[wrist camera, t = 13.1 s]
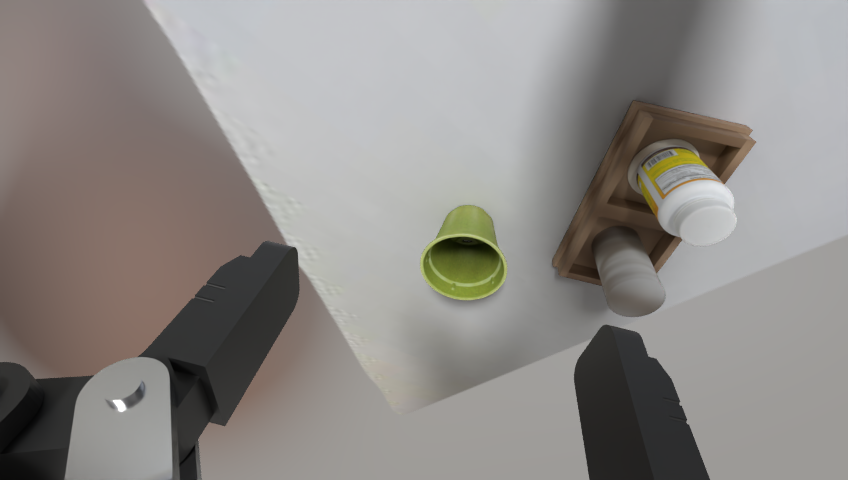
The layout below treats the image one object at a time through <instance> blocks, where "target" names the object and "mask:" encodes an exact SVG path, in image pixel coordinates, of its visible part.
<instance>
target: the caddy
mask: <svg viewBox="0 0 848 480" xmlns="http://www.w3.org/2000/svg"><path fill="white" fill-rule="evenodd" d="M752 131H753V130H752V129H750V128H749V127H747V126H746V125H741V124H737V123H733V122H728V121H724V120H719V119H715V118H710V117H706V116H701V115H697V114H693V113H688V112H684V111H679V110H675V109H670V108H666V107H661V106H657V105H653V104H648V103H644V102H639V101H635V100H633V102H632V104H631V106H630V108H629V110H628V112H627V114H626V116H625V117H624V119H623V121H622V123H621V125H620V127H619V129H618V131H617V133H616V135H615V137H614V139H613V141H612V143H611V145H610V147H609V149H608V151H607V153H606V155H605V157H604V159H603V161H602V163H601V165H600V167H599V169H598V171H597V173H596V175H595V177H594V179H593V181H592V183H591V185H590V187H589V189H588V191H587V193H586V195H585V197H584V198H583V200H582V202H581V204H580V206H579V208H578V210H577V212H576V214H575V216H574V218H573V220H572V222H571V224H570V226H569V228H568V230H567V232H566V234H565V236H564V238H563V240H562V242H561V244H560V246H559V248H558V250H557V252H556V254H555V256H554V258H553V260H552V263H553V267H557V268H558V272H559V276H563V277H567V278H571V279H576V280H580V281H584V282H588V283H592V284H596V285H600V286H603V290H604V293H605V297H606V300H607V304H608V306H609V308H610V309H611V310H612V311H613V312H615V313H616V314H619V315H622V316H626V317H639V316H644V315H647V314H650V313H652V312H654V311H656V310H657V309H658V308H660V307H661V305H662V304H663V303H664V301H665V296H666V295H665V291H664V289H663V286H662V284H661V282H660V280H659V278H658V276H657V272H658V271H659V270H660V269H661V267H662V266H663V265H664V263H665V262H666V261H667V259H668V258H669V257H670V255H671V254H672V253H673V251H674V250H675V249H676V247H677V246H678V245H679V243H680V242H681V241H682V239H681V238H680V237H677V236H674V235H671V234H669V233H668V232H666V231H665V230H664V229H663V228H662V226H661V225H660V223H659V221H658V220H657V218H656V216H655V214H654V213H653V211H652V209H651V208H650V206H649V204H648V203H647V201H646V199H645V197H644V196H643V194H642V192H641V190H640V189H639V187H638V185H637V182H636V172H637V169H638V167H639V165H640V163H641V162H642V161H643V159H644V158H645V157H646V156H648V155H649V154H650V153H652V152H653V151H655V150H657V149H660V148H663V147H666V146H682V147H685V148H688V149H690V150H691V151H693V152H694V153H695V154H696V155H697V156H698V157H699V158H700V159H701V160H702V161H703V163H704V164H705V165H706V166H707V167H708V168H709V169H710V170H711V171H712V172H713V173H714V174H715V175H716V176H717V177H718V178H719V179H720V180H721V181H722V182H723V183H724V184H725V183H726V181H727V180H728V179H729V177H730V176H731V175H732V173H733V172H734V171H735V170H736V168H737V167H738V166H739V164H740V163H741V162H742V160H743V159H744V158H745V156H746V155H747V154H748V152H749V151H750V150H751V148H752V147H753V146H754V144H755V143H756V141H754V140H753V139H752V138H751V137H749V135H750V133H751V132H752Z"/></svg>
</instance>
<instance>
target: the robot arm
mask: <svg viewBox="0 0 848 480" xmlns="http://www.w3.org/2000/svg"><path fill="white" fill-rule="evenodd" d="M298 295H299V269H298V252H297V249H296V248H295V247H291V246H287V245H282V244H278V243H274V242H270V241H265V242H263V243H262V244H261V245H260V247H259V248H258V249H257V250H256V251H255V253H254V254H253V255H252V256H251V257H250V258H249V257H245V256H241V255H240V256H239V257H237V258H235V259H233V260H232V261H230V262H228V263H226V264H225V265H223V266H221V267H220V268H219V269H218V270H217V271H216V272H215V274H214V275H213V276H212V277H211V278H210V279H209V280H208V281H207V284H206V286H203V287H202V288H201V289H200V290H199V291H198V293H197V294H196V295H195V298H194V299H191V300H190V301H189V303H188V304H187V305H186V306H185V307H184V308H183V309H182V310H181V311H180V313H179V314H178V315H177V316H176V317H175V318H174V319H173V320H172V322H171V323H170V324H169V325H168V326H167V327H166V328H165V329H164V330H163V332H162V333H161V334H160V335H159V336H158V337H157V338H156V339H155V340H154V341H153V343H152V344H151V345H150V346H149V347H148V348H147V349H146V350H145V351H144V352H143V353H142V354H141V355H139V356H138V357H136V358H130V359H125V360H122V361H119V362H117V363H114V364H112V365H110V366H108V367H106V368H105V369H103V370H102V371H100V372H99V373H97V374H96V375H93V376H83V377H65V378H48V379H35V378H34V377H33V376H32V375H31V374H30V372H29V371H28V370H27V369H26V368H25V367H23V366H21V365H19V364H16V363H9V362H0V480H202V478H201V465H200V453H199V441H198V438H199V437H200V435H201V434H202V432H203V430H204V429H205V427H206V426H207V424H208V423H209V422H211V423H215V424H219V425H222V426H225V425H226V423H227V422H228V420H229V418H230V417H231V415H232V414H233V412H234V410H235V408H236V407H237V405H238V403H239V402H240V400H241V398H242V397H243V395H244V393H245V391H246V390H247V388H248V386H249V385H250V383H251V381H252V380H253V378H254V376H255V375H256V372H257V371H258V369H259V368H260V366H261V364H262V363H263V361H264V359H265V358H266V356H267V354H268V352H269V350H270V349H271V347H272V346H273V344H274V342H275V340H276V339H277V337H278V335H279V334H280V332H281V330H282V329H283V327H284V325H285V324H286V322H287V320H288V318H289V317H290V315H291V313H292V312H293V310H294V308H295V305H296V303H297V300H298ZM574 383H575V389H576V396H577V402H578V409H579V415H580V422H581V428H582V434H583V440H584V447H585V453H586V459H587V466H588V473H589V479H590V480H710V479H709V476H708V473H707V471H706V468H705V465H704V463H703V460H702V458H701V455H700V452H699V450H698V447H697V445H696V442H695V439H694V437H693V434H692V432H691V429H690V426H689V425H688V424H687V423H686V421H687V419H686V416H685V413H684V411H683V408H682V406H680V405H679V402H680V400H679V398H678V395H677V393H676V390H675V387H674V384H673V382H672V380H671V378H670V377H669V375H668V374H667V373H666V372H665V370H664V369H663V368H662V366H661V365H660V364H659V362H658V361H657V359H655V358H651V357H648V354H647V351H646V348H645V346H644V343H643V340H642V337H641V336H640V335H639V333H637V332H634V331H630V330H626V329H622V328H618V327H614V326H610V325H604V326H602V327H601V328H600V329H599V331H598V332H597V334H596V335H595V336H594V338H593V339H592V341H591V342H590V343H589V345H588V346H587V348H586V349H585V350H584V352H583V353H582V354H581V356H580V357H579V359H578V361H577V364H576V367H575V373H574Z"/></svg>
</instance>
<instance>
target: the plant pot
mask: <svg viewBox="0 0 848 480" xmlns="http://www.w3.org/2000/svg"><path fill="white" fill-rule="evenodd" d="M463 239H465V240H471V241H472V242H464V241H462V240H463ZM420 269H421V273H422V275H423V277H424V279H425V281H426V282H427V283H428V284H429V285H430V286H431V287H432V288H433V289H434V290H435V291H437V292H439V293H440V294H442V295H444V296H447V297H450V298H453V299H457V300H475V299H481V298H484V297H487V296H489V295H491V294H493V293H494V292H495V291H497V290H498V289H499V288H500V287H501V286H502V284H503V283H504V281H505V279H506V275H507V263H506V259H505V257H504V255H503V253H502V252H501V250H500V249H499V247H498V245H497V240H496V235H495V231H494V225H493V221H492V219H491V217H490V216H489V215H488V214H487V213H486V212H485V211H484V210H483V209H481V208H479V207H476V206H471V205H465V206H460V207H457V208H456V209H454V210H453V211H451V212H450V213H449V214H448V215H447V217H446V219H445V221H444V223H443V225H442V227H441V229H440V231H439V233H438V235H437V237H436V239H435V240H433V241H432V242H431V243H430V244H429V245H428V246H427V247H426V248H425V249H424V251H423V253H422V256H421V260H420Z"/></svg>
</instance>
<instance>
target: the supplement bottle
mask: <svg viewBox="0 0 848 480" xmlns="http://www.w3.org/2000/svg"><path fill="white" fill-rule="evenodd" d="M636 182H637V185H638V187H639V189H640V190H641V192H642V194H643V196H644V197H645V199H646V201H647V203H648V204H649V206H650V208H651V209H652V211H653V213H654V214H655V216H656V218H657V220H658V221H659V223H660V225H661V226H662V228H663V229H664V230H665V231H666V232H668V233H669V234H671V235H674V236H677V237H680V238H681V239H682V240H683V241H684V242H686V243H687V244H690V245H693V246H708V245H712V244H715V243H718V242H720V241H722V240H723V239H725V238H726V237H728V236H729V235H730V234H731V233H732V232H733V230H734V229H735V226H736V223H737V219H736V215H735V214H734V212H733V209H734V197H733V195H732V193H731V191H730V190H729V189H728V188H727V187H726V186H725V185H724V183H723V182H722V181H721V180H720V179H719V178H718V177H717V176H716V175H715V174H714V173H713V172H712V171H711V170H710V169H709V168H708V167H707V166H706V165H705V164H704V163H703V161H702V160H701V159H700V158H699V157H698V156H697V155H696V154H695V153H694V152H693V151H691V150H690V149H688V148H685V147H682V146H666V147H663V148H660V149H657V150H655V151H653V152H652V153H650V154H649V155H648V156H646V157H645V158H644V159H643V161H642V162H641V163H640V165H639V167H638V169H637V172H636Z"/></svg>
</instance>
